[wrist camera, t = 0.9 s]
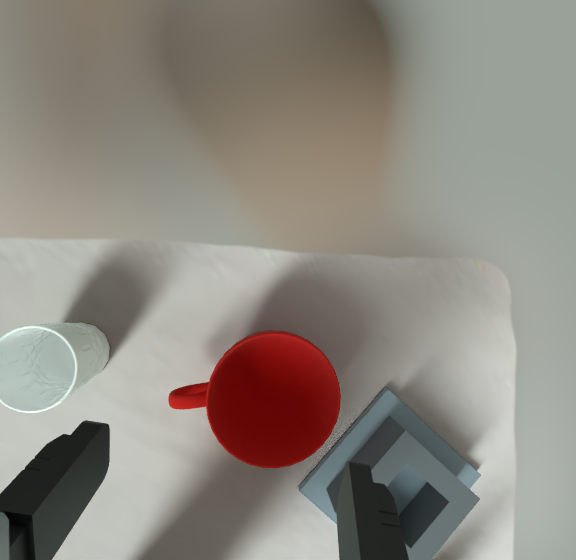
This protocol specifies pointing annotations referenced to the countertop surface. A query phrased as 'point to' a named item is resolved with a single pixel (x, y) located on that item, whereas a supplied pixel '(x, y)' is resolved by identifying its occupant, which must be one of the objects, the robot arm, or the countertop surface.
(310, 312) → the countertop surface
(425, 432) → the socket block
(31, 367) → the white cup
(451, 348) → the countertop surface
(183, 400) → the ceramic cup
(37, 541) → the robot arm
